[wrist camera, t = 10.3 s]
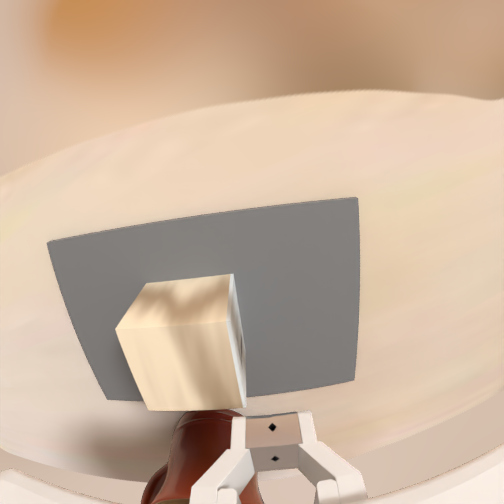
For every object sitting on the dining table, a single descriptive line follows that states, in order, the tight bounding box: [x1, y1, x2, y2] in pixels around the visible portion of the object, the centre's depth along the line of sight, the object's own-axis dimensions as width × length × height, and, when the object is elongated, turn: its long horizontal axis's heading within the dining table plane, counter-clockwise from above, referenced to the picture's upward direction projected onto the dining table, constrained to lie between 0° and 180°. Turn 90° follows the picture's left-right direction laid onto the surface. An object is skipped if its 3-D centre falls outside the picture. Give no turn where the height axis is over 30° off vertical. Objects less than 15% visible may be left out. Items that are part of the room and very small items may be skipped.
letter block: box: [115, 274, 247, 411], centre depth 18 cm, size 6×6×6 cm
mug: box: [141, 409, 264, 504], centre depth 20 cm, size 12×9×10 cm
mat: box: [47, 197, 360, 401], centre depth 21 cm, size 22×15×1 cm
